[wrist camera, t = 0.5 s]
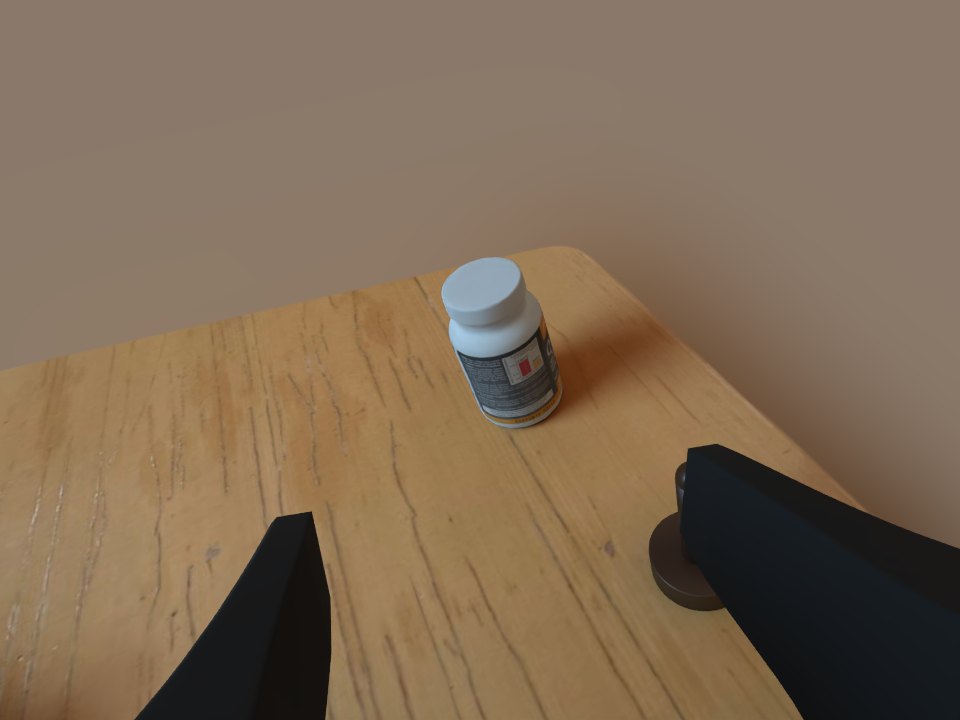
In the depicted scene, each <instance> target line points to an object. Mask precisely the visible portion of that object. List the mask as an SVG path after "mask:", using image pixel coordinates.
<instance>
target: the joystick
mask: <svg viewBox="0 0 960 720" xmlns="http://www.w3.org/2000/svg"><path fill="white" fill-rule="evenodd" d="M686 463H687V462H684V463H683V464H681V465H680V466H679V467H678V469H677V470H676V473H675V484H676V495H677V506H678V512H676V513H674V514H672V515H670V516H668V517H666V518H665V519H664V520H662V521H661V522H660V523H659V524H658V525H657V527H656V528H655V529H654V531H653V533H652V535H651V538H650V542H649V557H650V563H651V569H652V573H653V577H654V579H655V581H656V583H657V585H658V587H659V588H660V589H661V591H662V592H663V593H664V594H665V595H666V596H667V597H668V598H669V599H671V600H672V601H674V602H675V603H677V604H679V605H681V606H683V607H685V608H688V609H692V610H698V611H711V610H717V609H720V608H723V607H725V606H724V605H723V603H722V602H721V600H720V599H719V598H718V596H717V595H716V593H715V592H714V591H713V589H712V588H711V586H710V585H709V583H708V582H707V581H706V579H705V578H704V576H703V574H702V572H701V571H700V569H699V567H698V565H697V564H696V562H695V560H694V558H693V556H692V555H691V553H690V551H689V549H688V547H687V545H686V543H685V541H684V539H683V537H682V535H681V533H680V523H681V513H682V503H683V493H684V483H685V473H686Z"/></svg>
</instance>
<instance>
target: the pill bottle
mask: <svg viewBox="0 0 960 720" xmlns="http://www.w3.org/2000/svg"><path fill="white" fill-rule="evenodd" d="M442 299H443V302H444V305H445V308H446V310H447V313H448V315H449V316H450V318H451V320H450V324H449V336H450V340H451V343H452V345H453V349H454V351H455V353H456V355H457V357H458V360H459V362H460V364H461V366H462V369H463V371H464V374H465V375H466V378H467V380H468V382H469V385H470V387H471V389H472V392H473V395H474V397H475V399H476V401H477V403H478V405H479V408H480V409H481V411H482V413H483V414H484V416H485V417H486V418H487V419H488V420H490V421H491V422H492V423H494V424H497V425H499V426H502V427H507V428H521V427H527V426H530V425H533V424H535V423H537V422H539V421H541V420H543V419H545V418H546V417H547V416H548V415H549V414H550V413H551V412H552V411H553V410H554V409H555V408H556V406H557V405H558V403H559V401H560V399H561V395H562V380H561V376H560V373H559V369H558V365H557V362H556V358H555V355H554V351H553V348H552V345H551V341H550V338H549V334H548V331H547V327H546V323H545V320H544V316H543V312H542V309H541V306H540V304H539V302H538V300H537V299H536V298H535V296H534V295H533V294H532V293H530V292H529V291H527V290H526V284H525V281H524V277H523V274H522V272H521V269H520V268H519V266H518V265H517V264H516V263H515V262H513V261H511V260H509V259H506V258H500V257H490V258H482V259H478V260H475V261H472V262H470V263H467V264H465V265H463V266H462V267H460V268H459V269H457V270H456V271H455V272H453V273H452V274H451V275H450V276H449V277H448V278H447V280H446V281H445V283H444V285H443V287H442Z"/></svg>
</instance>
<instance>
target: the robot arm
mask: <svg viewBox="0 0 960 720" xmlns="http://www.w3.org/2000/svg"><path fill="white" fill-rule="evenodd" d="M680 533H681V535H682V537H683V539H684V541H685V543H686V545H687V547H688V549H689V551H690V553H691V555H692V556H693V558H694V560H695V562H696V564H697V565H698V567H699V569H700V571H701V572H702V574H703V576H704V578H705V579H706V581H707V582H708V583H709V585H710V586H711V588H712V589H713V591H714V592H715V593H716V595H717V596H718V598H719V599H720V600H721V602H722V603H723V605H724V606H725V607H726V609H727V610H728V612H729V613H730V614H731V616H732V617H733V618H734V620H735V621H736V623H737V624H738V625H739V627H740V628H741V629H742V631H743V632H744V634H745V635H746V636H747V638H748V639H749V640H750V642H751V643H752V645H753V646H754V647H755V649H756V650H757V651H758V653H759V654H760V655H761V657H762V658H763V660H764V661H765V662H766V664H767V665H768V666H769V668H770V669H771V671H772V672H773V673H774V675H775V676H776V677H777V679H778V680H779V682H780V683H781V685H782V686H783V688H784V689H785V691H786V692H787V694H788V695H789V697H790V698H791V700H792V701H793V703H794V704H795V706H796V708H797V709H798V711H799V713H800V714H801V716H802V718H803V719H804V720H960V549H958V548H955V547H953V546H950V545H947V544H945V543H941V542H939V541H936V540H934V539H930V538H928V537H925V536H922V535H920V534H917V533H914V532H912V531H909V530H906V529H904V528H901V527H899V526H896V525H893V524H891V523H889V522H887V521H884V520H882V519H880V518H877V517H875V516H872V515H870V514H868V513H865V512H863V511H861V510H858V509H856V508H854V507H851V506H849V505H847V504H845V503H843V502H840V501H838V500H836V499H834V498H832V497H829V496H827V495H825V494H823V493H821V492H819V491H817V490H815V489H812V488H810V487H808V486H806V485H804V484H802V483H800V482H798V481H796V480H794V479H792V478H790V477H787V476H785V475H783V474H781V473H779V472H777V471H775V470H773V469H771V468H769V467H767V466H765V465H763V464H761V463H759V462H757V461H755V460H752V459H750V458H748V457H746V456H744V455H742V454H740V453H738V452H735V451H733V450H731V449H729V448H726V447H724V446H721V445H719V444H712V445H706V446H700V447H694V448H688V453H687V463H686V473H685V483H684V493H683V503H682V513H681V523H680ZM330 663H331V604H330V594H329V589H328V584H327V580H326V575H325V570H324V566H323V561H322V557H321V552H320V547H319V543H318V538H317V533H316V529H315V524H314V519H313V515H312V511H311V512H305V513H299V514H293V515H287V516H281V517H276V519H275V520H274V521H273V522H272V523H271V525H270V527H269V529H268V530H267V532H266V534H265V536H264V537H263V539H262V541H261V543H260V545H259V546H258V548H257V550H256V551H255V553H254V555H253V557H252V558H251V560H250V562H249V563H248V565H247V566H246V568H245V570H244V571H243V573H242V575H241V576H240V578H239V580H238V581H237V583H236V584H235V586H234V587H233V589H232V590H231V592H230V593H229V595H228V597H227V598H226V600H225V601H224V603H223V604H222V606H221V607H220V609H219V610H218V612H217V613H216V615H215V616H214V618H213V619H212V621H211V622H210V623H209V625H208V626H207V627H206V629H205V630H204V632H203V633H202V634H201V636H200V637H199V639H198V640H197V641H196V643H195V644H194V645H193V647H192V648H191V650H190V651H189V652H188V654H187V655H186V657H185V658H184V659H183V661H182V662H181V663H180V665H179V666H178V667H177V668H176V670H175V671H174V672H173V673H172V675H171V676H170V677H169V679H168V680H167V681H166V682H165V684H164V685H163V686H162V687H161V689H160V690H159V691H158V692H157V693H156V695H155V696H154V697H153V698H152V699H151V701H150V702H149V703H148V704H147V705H146V706H145V708H144V709H143V710H142V711H141V712H140V714H139V715H138V716H137V717H136V718H135V719H134V720H325V716H326V706H327V695H328V685H329V674H330Z"/></svg>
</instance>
